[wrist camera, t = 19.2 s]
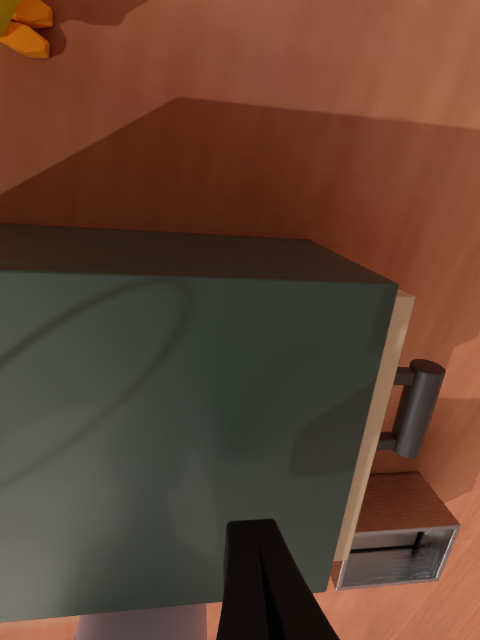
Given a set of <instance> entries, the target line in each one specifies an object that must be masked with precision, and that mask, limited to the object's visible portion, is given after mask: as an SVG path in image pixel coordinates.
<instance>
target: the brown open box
mask: <svg viewBox="0 0 480 640" xmlns="http://www.w3.org/2000/svg"><path fill="white" fill-rule="evenodd" d="M460 527H461V525H460V524H459V522H458V521H457V520H456V518H455V517H454V516H453V515H452V513H451V512H450V511H449V510H448V508H447V507H446V506H445V504H444V503H443V502H442V501H441V499H440V498H439V497H438V495H437V494H436V493H435V492H434V490H433V489H432V488H431V487H430V485H429V484H428V483H427V481H426V480H425V479H424V478H423V476H422V475H421V474H420V473H419V472H407V473H385V474H370V475H369V479H368V483H367V486H366V490H365V494H364V498H363V502H362V506H361V509H360V513H359V517H358V521H357V525H356V529H355V533H354V536H353V540H352V544H351V548H350V552H349V556H348V559H347V560H342V561H333V564H332V568H331V573H330V575H331V578H332V581H333V584H334V587H335V590H336V591H339V590H349V589H360V588H370V587H381V586H391V585H402V584H412V583H423V582H433V581H439V578H440V576H441V573H442V571H443V568H444V566H445V564H446V561H447V559H448V556H449V554H450V551H451V549H452V546H453V544H454V541H455V539H456V536H457V534H458V531H459V529H460Z"/></svg>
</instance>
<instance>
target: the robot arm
mask: <svg viewBox="0 0 480 640" xmlns="http://www.w3.org/2000/svg"><path fill="white" fill-rule="evenodd" d="M223 573H224V593H223V603H222V610H221V616H220V622H219V627H218V633H217V638H216V640H340V639H339V638H338V636H337V634H336V633H335V631H334V630H333V628H332V626H331V625H330V623H329V621H328V620H327V618H326V616H325V615H324V613H323V611H322V610H321V608H320V606H319V605H318V603H317V601H316V599H315V598H314V596H313V594H312V592H311V590H310V589H309V587H308V585H307V583H306V582H305V580H304V578H303V576H302V574H301V572H300V570H299V569H298V567H297V565H296V563H295V561H294V559H293V557H292V555H291V553H290V551H289V549H288V547H287V545H286V542H285V540H284V538H283V536H282V534H281V532H280V529H279V527H278V525H277V522H276V521H275V520H274V519H273V518H272V519H255V520H237V521H230V522H229V523H227V526H226V539H225V551H224V564H223ZM74 640H207V619H206V603H204V604H193V605H182V606H172V607H161V608H151V609H140V610H130V611H119V612H109V613H98V614H88V615H80V618H79V622H78V626H77V630H76V634H75V637H74Z"/></svg>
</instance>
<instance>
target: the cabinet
mask: <svg viewBox="0 0 480 640" xmlns="http://www.w3.org/2000/svg"><path fill="white" fill-rule="evenodd" d="M398 288H399V285H398V284H397V283H395V282H393V281H391V280H389V279H387V278H385V277H383V276H381V275H379V274H377V273H375V272H373V271H371V270H369V269H366V268H364V267H362V266H360V265H358V264H356V263H354V262H352V261H350V260H348V259H346V258H344V257H342V256H340V255H338V254H336V253H334V252H332V251H330V250H328V249H326V248H324V247H322V246H320V245H318V244H316V243H313V242H312V241H310V240H301V239H282V238H264V237H245V236H227V235H208V234H190V233H171V232H153V231H134V230H116V229H97V228H79V227H60V226H42V225H23V224H5V223H0V623H3V622H14V621H24V620H35V619H45V618H56V617H66V616H77V615H88V614H98V613H109V612H119V611H130V610H140V609H151V608H161V607H172V606H182V605H193V604H204V603H214V602H223V593H224V573H223V564H224V551H225V539H226V526H227V523H229V522H230V521H237V520H255V519H272V518H273V519H274V520H275V521H276V522H277V525H278V527H279V529H280V532H281V534H282V536H283V538H284V540H285V542H286V545H287V547H288V549H289V551H290V553H291V555H292V557H293V559H294V561H295V563H296V565H297V567H298V569H299V570H300V572H301V574H302V576H303V578H304V580H305V582H306V583H307V585H308V587H309V589H310V590H311V592H312V593H319V592H326V589H327V585H328V581H329V577H330V573H331V568H332V564H333V560H334V556H335V552H336V547H337V543H338V539H339V535H340V531H341V527H342V522H343V518H344V514H345V510H346V506H347V501H348V497H349V493H350V489H351V485H352V481H353V476H354V472H355V468H356V464H357V460H358V455H359V451H360V447H361V443H362V439H363V435H364V430H365V426H366V422H367V418H368V414H369V409H370V405H371V401H372V397H373V393H374V388H375V384H376V380H377V376H378V372H379V368H380V363H381V359H382V355H383V351H384V347H385V342H386V338H387V334H388V330H389V326H390V322H391V317H392V313H393V309H394V305H395V301H396V296H397V292H398Z"/></svg>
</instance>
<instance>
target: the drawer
mask: <svg viewBox="0 0 480 640" xmlns="http://www.w3.org/2000/svg"><path fill="white" fill-rule="evenodd" d="M414 301H415V296H413V295H411V294H409V293H407V292H405V291H403V290H401V289H399V288H398V292H397V296H396V301H395V305H394V309H393V313H392V317H391V322H390V326H389V330H388V334H387V338H386V342H385V347H384V351H383V355H382V359H381V363H380V368H379V372H378V376H377V380H376V384H375V388H374V393H373V397H372V401H371V405H370V409H369V414H368V418H367V422H366V426H365V430H364V435H363V439H362V443H361V447H360V451H359V455H358V460H357V464H356V468H355V472H354V476H353V481H352V485H351V489H350V493H349V497H348V501H347V506H346V510H345V514H344V518H343V522H342V527H341V531H340V535H339V539H338V543H337V547H336V552H335V556H334V560H333V561H342V560H347V559H348V556H349V552H350V548H351V544H352V540H353V536H354V533H355V529H356V525H357V521H358V517H359V513H360V509H361V506H362V502H363V498H364V494H365V490H366V486H367V483H368V479H369V475H370V471H371V467H372V463H373V459H374V456H375V452H376V450H392V451H394V452H395V453H396V454H398V455H400V456H402V457H405V458H416V457H418V456H419V454H420V451H421V448H422V445H423V442H424V439H425V436H426V433H427V429H428V426H429V423H430V420H431V417H432V414H433V410H434V407H435V404H436V401H437V398H438V395H439V392H440V388H441V385H442V382H443V379H444V376H445V369H444V368H443V367H442V366H441V365H439V364H437V363H435V362H432V361H428V360H423V359H415V360H412V361H411V362H410V365H409V368H408V367H398V363H399V359H400V355H401V352H402V348H403V344H404V340H405V336H406V332H407V328H408V325H409V321H410V317H411V313H412V309H413V305H414ZM393 385H404V387H403V391H402V395H401V398H400V402H399V406H398V409H397V413H396V417H395V420H394V424H393V428H392V431H391V432H381V429H382V425H383V421H384V417H385V413H386V409H387V405H388V402H389V398H390V394H391V390H392V386H393Z"/></svg>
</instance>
